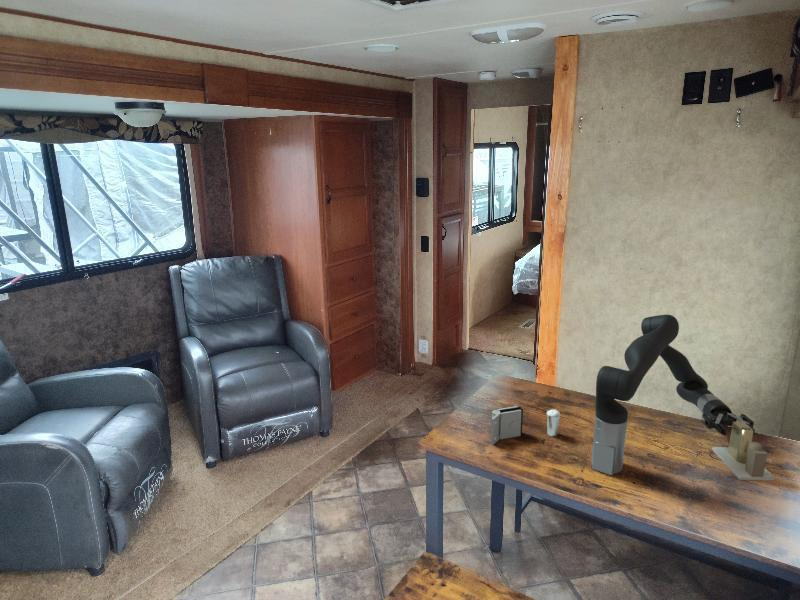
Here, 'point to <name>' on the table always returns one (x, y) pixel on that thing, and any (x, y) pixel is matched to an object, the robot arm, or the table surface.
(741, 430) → the brown tall block
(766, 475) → the mounting plate
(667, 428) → the table surface
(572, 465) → the table surface
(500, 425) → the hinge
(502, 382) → the table surface
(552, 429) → the milkshake
